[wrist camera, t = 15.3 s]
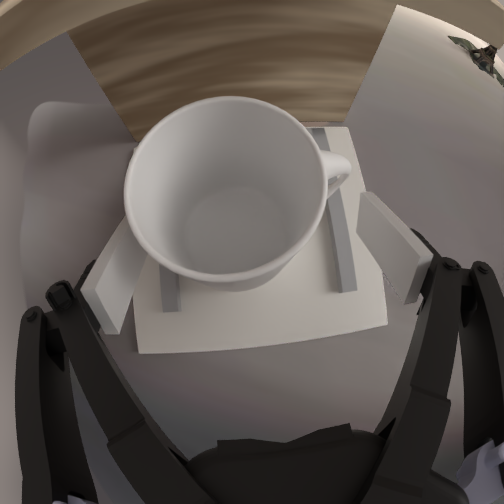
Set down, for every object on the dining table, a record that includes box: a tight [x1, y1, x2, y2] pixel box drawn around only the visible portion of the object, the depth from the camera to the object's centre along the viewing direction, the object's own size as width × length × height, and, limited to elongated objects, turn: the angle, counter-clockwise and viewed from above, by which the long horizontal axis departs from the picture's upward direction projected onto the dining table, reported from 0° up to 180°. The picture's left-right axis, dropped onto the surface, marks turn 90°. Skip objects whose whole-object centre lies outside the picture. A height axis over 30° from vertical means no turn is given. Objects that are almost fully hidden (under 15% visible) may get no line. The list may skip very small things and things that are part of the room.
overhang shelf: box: [0, 0, 504, 142], centre depth 13 cm, size 10×20×20 cm, turn 96°
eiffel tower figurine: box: [449, 36, 504, 87], centre depth 22 cm, size 15×10×13 cm
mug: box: [124, 96, 352, 292], centre depth 16 cm, size 9×12×11 cm
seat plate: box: [133, 127, 388, 354], centre depth 21 cm, size 18×20×2 cm
